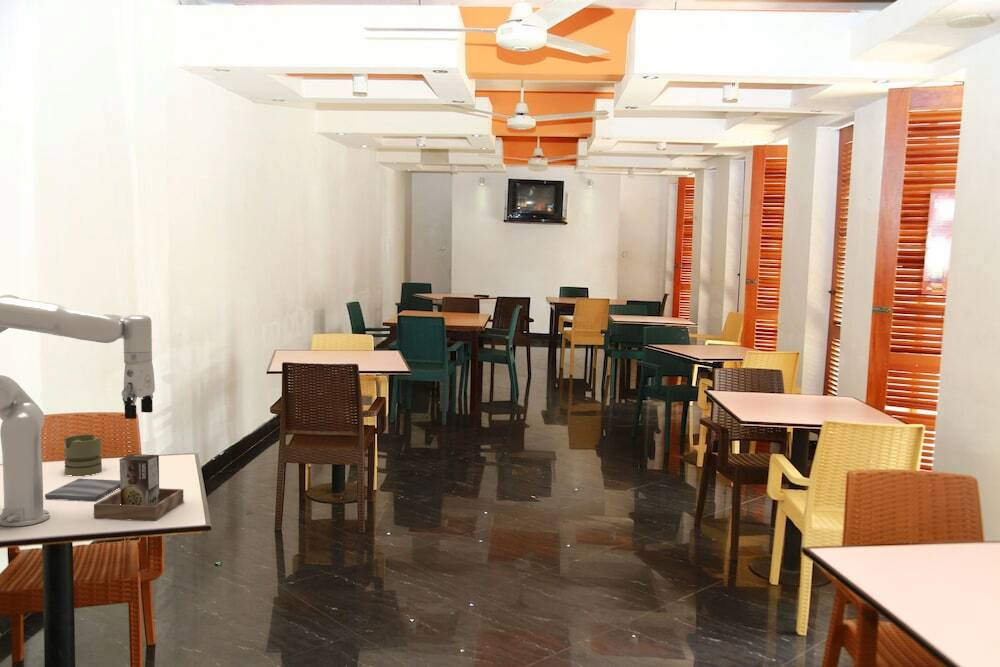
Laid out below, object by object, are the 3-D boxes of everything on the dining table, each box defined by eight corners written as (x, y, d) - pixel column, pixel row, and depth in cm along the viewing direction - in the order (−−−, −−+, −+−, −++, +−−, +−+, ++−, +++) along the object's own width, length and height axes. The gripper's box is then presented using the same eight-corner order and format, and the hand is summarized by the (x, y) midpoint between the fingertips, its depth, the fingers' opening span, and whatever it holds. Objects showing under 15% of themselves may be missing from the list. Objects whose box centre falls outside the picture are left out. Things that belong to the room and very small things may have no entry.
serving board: (95, 501, 246) (95, 496, 246) (45, 499, 247) (44, 494, 246) (126, 485, 264) (126, 480, 263) (78, 483, 264) (78, 478, 264)
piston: (92, 433, 285) (106, 438, 277) (93, 466, 286) (107, 472, 278) (58, 437, 276) (72, 443, 269) (59, 472, 277) (73, 478, 270)
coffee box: (160, 507, 242) (160, 454, 240) (149, 514, 235) (148, 460, 234) (131, 505, 243) (131, 453, 241) (119, 512, 236) (118, 458, 235)
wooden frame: (155, 520, 229) (155, 507, 229) (94, 518, 230) (93, 504, 230) (183, 502, 247) (183, 489, 247) (126, 499, 248) (126, 486, 248)
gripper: (136, 361, 226) (137, 421, 228) (164, 354, 244) (164, 410, 245) (109, 360, 227) (111, 420, 228) (139, 353, 244) (140, 409, 245)
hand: (139, 415), depth 237 cm, fingers open, 9 cm apart
